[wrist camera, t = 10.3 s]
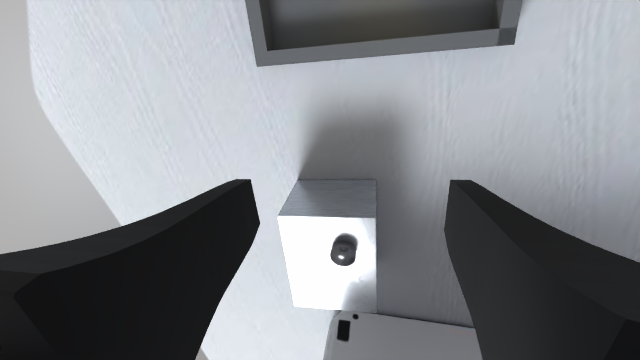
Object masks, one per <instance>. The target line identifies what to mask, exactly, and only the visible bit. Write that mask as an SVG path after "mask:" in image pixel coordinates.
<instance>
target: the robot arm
mask: <svg viewBox="0 0 640 360" xmlns="http://www.w3.org/2000/svg"><path fill="white" fill-rule="evenodd" d="M259 225H260V221H259V216H258V212H257V207H256V202H255V198H254V193H253V188H252V184H251V179H235V180H232V181H229V182H227V183H224V184H222V185H220V186H217V187H215V188H213V189H211V190H209V191H207V192H204V193H202V194H200V195H198V196H196V197H194V198H192V199H190V200H188V201H185V202H183V203H181V204H179V205H176V206H174V207H172V208H169V209H167V210H165V211H163V212H160V213H158V214H155V215H153V216H150V217H147V218H145V219H142V220H139V221H136V222H134V223H131V224H128V225H125V226H121V227H118V228H115V229H111V230H108V231H105V232H101V233H98V234H94V235H91V236H87V237H83V238H79V239H75V240H71V241H67V242H62V243H58V244H54V245H49V246H44V247H39V248H35V249H29V250H23V251H17V252H11V253H5V254H0V360H195V359H196V356H197V353H198V351H199V349H200V346H201V344H202V341H203V339H204V336H205V334H206V332H207V329H208V327H209V325H210V322H211V320H212V318H213V316H214V313H215V311H216V309H217V307H218V304H219V302H220V300H221V298H222V297H223V295H224V293H225V291H226V289H227V288H228V286H229V284H230V282H231V281H232V279H233V277H234V275H235V274H236V272H237V270H238V269H239V267H240V265H241V263H242V262H243V260H244V258H245V256H246V255H247V253H248V251H249V249H250V247H251V245H252V243H253V241H254V238H255V236H256V233H257V231H258V228H259ZM444 231H445V237H446V242H447V247H448V251H449V256H450V258H451V261H452V264H453V267H454V270H455V273H456V276H457V278H458V281H459V284H460V287H461V289H462V292H463V295H464V298H465V300H466V303H467V306H468V309H469V311H470V314H471V317H472V321H473V324H474V327H475V331H476V335H477V339H478V343H479V347H480V351H481V355H482V359H483V360H640V263H639V262H636V261H634V260H631V259H628V258H626V257H623V256H620V255H618V254H615V253H612V252H609V251H607V250H604V249H602V248H599V247H597V246H594V245H592V244H590V243H587V242H585V241H583V240H580V239H578V238H576V237H574V236H572V235H569V234H567V233H565V232H563V231H560V230H558V229H556V228H554V227H552V226H550V225H548V224H546V223H544V222H542V221H541V220H539V219H537V218H535V217H533V216H531V215H529V214H527V213H526V212H524V211H522V210H520V209H519V208H517V207H515V206H514V205H512V204H510V203H508V202H507V201H505V200H503V199H502V198H500V197H499V196H497V195H495V194H494V193H492V192H491V191H489V190H487V189H486V188H484V187H482V186H481V185H479V184H477V183H475V182H473V181H471V180H450V187H449V195H448V204H447V212H446V220H445V228H444Z"/></svg>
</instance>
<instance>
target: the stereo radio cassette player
mask: <svg viewBox="0 0 640 360" xmlns="http://www.w3.org/2000/svg"><path fill="white" fill-rule="evenodd" d="M323 360H483V359H482V355H481V351H480V347H479V343H478V339H477V335H476V331H475V328H468V327H461V326H454V325H447V324H440V323H433V322H427V321H420V320H413V319H406V318H399V317H392V316H385V315H379V314H372V313H365V312H358V311H346V310H341V311H340V313H339V314H338V315H337V316H335V317H333V319H332V321H331V323H330V326H329V331H328V335H327V341H326V347H325V352H324V358H323Z"/></svg>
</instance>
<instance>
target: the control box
mask: <svg viewBox="0 0 640 360" xmlns="http://www.w3.org/2000/svg"><path fill="white" fill-rule="evenodd" d="M278 221H279V226H280V231H281V237H282V242H283V247H284V253H285V258H286V263H287V269H288V274H289V279H290V285H291V290H292V295H293V301H294V306H300V307H312V308H323V309H335V310H346V311H358V312H370V313H376V307H377V215H376V180H297V181H296V183H295V185H294V187H293V189H292V191H291V192H290V194H289V196H288V198H287V200H286V202H285V203H284V205H283V207H282V209H281V211H280V213H279V215H278Z"/></svg>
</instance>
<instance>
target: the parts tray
mask: <svg viewBox="0 0 640 360" xmlns="http://www.w3.org/2000/svg"><path fill="white" fill-rule="evenodd" d="M245 2H246V8H247V14H248V19H249V25H250V31H251V36H252V42H253V47H254V53H255V59H256V64H257V67H260V66H271V65H283V64H294V63H306V62H317V61H329V60H341V59H352V58H364V57H375V56H387V55H399V54H410V53H422V52H433V51H445V50H456V49H468V48H480V47H491V46H503V45H514V43H515V37H516V32H517V26H518V21H519V15H520V10H521V4H522V0H245Z"/></svg>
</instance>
